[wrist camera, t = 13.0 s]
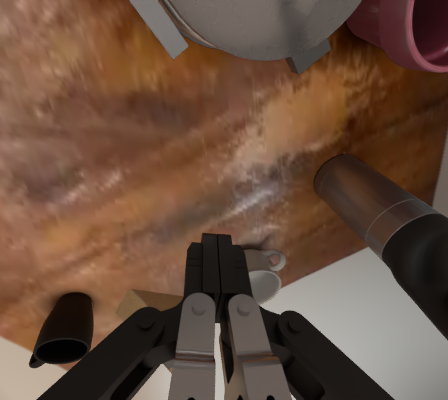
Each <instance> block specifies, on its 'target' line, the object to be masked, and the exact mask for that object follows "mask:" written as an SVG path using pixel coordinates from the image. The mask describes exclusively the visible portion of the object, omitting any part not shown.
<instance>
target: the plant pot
mask: <svg viewBox="0 0 448 400" xmlns="http://www.w3.org/2000/svg"><path fill="white" fill-rule="evenodd" d="M346 23H347V25H348V28H349V29H350V31H351V32H352V33H353V34H354V35H355V36H357V37H359V38H361V39H364V40H366V41H368V42H369V43H371V44H373V45H375V46H377V47H379V48H381V49H383V50H384V51H385V53H386V55H387V56H388V57H389V58H390V59H391V60H392V61H393V62H394V63H395V64H397V65H399V66H401V67H404V68H408V69H413V70H420V71H428V72H448V0H362V1H361V3H360V4H359V5H358V7H357V8H356V9H355V11H354V12H353V13H352V14H351V15H350V16H349V17H348V18H347V20H346Z"/></svg>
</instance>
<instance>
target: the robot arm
mask: <svg viewBox="0 0 448 400" xmlns="http://www.w3.org/2000/svg"><path fill="white" fill-rule="evenodd" d="M314 188H315V191H316V193H317V194H318V195H319V196H320V197H321V198H322V199H323V200H324V201H325V202H326V203H327V204H328V205H329V207H330V208H331V209H332V210H333V211H334V212H335V213H336V214H337V215H338V216H339V217H340V218H341V219H342V220H343V221H344V222H345V223H346V224H347V225H348V226H349V227H350V228H351V229H352V230H353V231H354V232H355V233H356V234H357V235H358V236H359V237H360V238H361V239H362V240H363V241H364V242H365V243H366V245H367V246H368V247H370V248H371V249H372V251H373V252H374V253H375V254H376V255H377V256H378V257H379V258H380V259H381V260H382V261H383V262H384V263H385V264H386V265H387V266H388V267H389V268H390V270H391V271H392V274H393V276H394V278H395V279H396V281H397V282H398V284H399V285H400V286H401V287H402V288H403V290H404V291H405V292H406V293H407V294H408V295H409V296H410V297H411V298H412V300H413V301H414V302H415V303H416V304H417V305H418V307H419V308H420V309H421V310H422V311H423V312H424V314H425V315H426V316H427V317H428V318H429V319H430V320H431V322H432V323H433V324H434V325H435V326H436V328H437V329H438V330H439V331H440V332H441V333H442V334H443V336H444V337H445V338H446V339H447V340H448V218H447V217H445V216H443V215H442V214H441V213H439V212H438V211H436V210H435V209H433V208H432V207H430V206H429V205H427V204H426V203H424V202H422V201H421V200H419V199H418V198H416V197H415V196H413V195H412V194H410V193H409V192H407V191H406V190H404V189H403V188H402V187H400V186H399V185H397V184H396V183H394V182H393V181H391V180H390V179H388V178H387V177H385V176H384V175H382V174H381V173H379V172H377V171H376V170H374V169H373V168H371V167H370V166H368V165H367V164H365V163H364V162H362V161H360V160H359V159H357V158H356V157H354V156H352V155H346V154H344V155H339V156H337V157H334V158H332V159H331V160H329V161H328V162H327V163H325V164H324V165H323V166H322V168H321V169H320V170H319V172H318V173H317V175H316V178H315V181H314ZM215 323H220V328H221V333H220V336H219V344H220V352H221V358H222V359H221V360H222V368H223V375H224V384H225V396H224V400H292V398H291V394H292V395H293V396H294V397H295V398H296V400H394V399H393V398H392V397H391V396H390V395H389V394H388V393H387V392H386V391H385V390H384V389H382V388H381V387H380V386H379V385H378V384H377V383H376V382H375V381H374V380H373V379H371V378H370V377H369V376H368V375H367V374H366V373H365V372H364V371H363V370H362V369H360V368H359V367H358V366H357V365H356V364H355V363H354V362H353V361H352V360H350V359H349V358H348V357H347V356H346V355H345V354H344V353H343V352H342V351H341V350H340V349H338V348H337V347H336V346H335V345H334V344H333V343H332V342H331V341H330V340H329V339H328V338H326V337H325V336H324V335H323V334H322V333H321V332H320V331H319V330H318V329H316V328H315V327H314V326H313V325H312V324H311V323H310V322H309V321H308V320H307V319H305V318H304V317H303V316H302V315H301V314H299V313H297V312H295V311H285V312H283V313H282V314H281V315H279V314H276V313H273V312H270V311H268V310H265V309H264V308H262V307H261V306H259V305H258V303H257V302H256V301H255V299H254V297H253V294H252V289H251V283H250V278H249V272H248V267H247V263H246V256H245V252H244V251H243V249H242V248H241V246H240V245H232V239H231V235H226V234H217V235H216V234H210V233H202V239H201V243H194V242H192V243H191V245H190V246H189V248H188V250H187V259H186V269H185V284H184V297H183V299H182V300H181V302H180V303H179V304H178V305H176V306H175V307H173V308H170V309H167V310H164V311H160V310H158V309H157V308H154V307H143V308H140V309H138V310H136V311H135V312H134V313H133V314H132V315H131V316H129V317H128V318H127V319H126V320H125V321H124V322H123V323H122V324H120V325H119V326H118V327H117V328H116V329H115V330H114V331H113V332H112V333H110V334H109V335H108V336H107V337H106V338H105V339H104V340H103V341H101V342H100V343H99V344H98V345H97V346H96V347H95V348H94V349H93V350H91V351H90V352H89V353H88V354H87V355H86V356H85V357H84V358H82V359H81V360H80V361H79V362H78V363H77V364H76V365H75V366H73V367H72V368H71V369H70V370H69V371H68V372H67V373H66V374H65V375H63V376H62V377H61V378H60V379H59V380H58V381H57V382H56V383H55V384H54V385H52V386H51V387H50V388H49V389H48V390H47V391H46V392H44V393H43V394H42V395H41V396H40V397H39V398H38V399H37V400H131V399H132V398H133V397H134V395H135V394H136V393H137V392H138V391H139V390H140V388H141V387H142V386H143V385H144V384H145V382H146V381H147V380H148V379H149V378H150V376H151V375H152V374H153V373H154V372H155V371H156V369H157V368H158V367H159V366H160V364H163V363H165V362H168V361H170V360H173V359H174V364H173V370H172V377H171V383H170V390H169V397H168V400H215V359H214V337H215ZM290 393H291V394H290Z"/></svg>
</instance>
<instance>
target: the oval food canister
mask: <svg viewBox="0 0 448 400" xmlns="http://www.w3.org/2000/svg"><path fill="white" fill-rule="evenodd" d="M129 1H130V2H131V3H132V5H133V6H134V7H135V9H136V10H137V12H138V13H139V14H140V16H141V17H142V18H143V20H144V21H145V22H146V24H147V25H148V26H149V28H150V29H151V30H152V32H153V33H154V34H155V36H156V37H157V38H158V40H159V41H160V42H161V44H162V45H163V47H164V48H165V49H166V51H167V52H168V53H169V55H170V56H171V57H172V59H173V60H174V59H175V58H176V57H177V56H178V55H179V54H180V53H181V52H183V51H184V50H185V49H186V48H187V47H188V44H187V43H186V41H185V40H184V38H183V37H182V35H183V36H185V37H187V38H188V39H190V40H192V41H193V42H196V43H198V44H200V45H203V46H206V47H209V48H213V49H218V48H216V47H215V46H213V45H211V44H210V43H208V42H207V41H205V40H203V39H202V38H201V37H200V36H199V35H197V34H196V33H195V32H194V31H193V30H191V29H190V27H189V26H188V25H187V24H186V23H185V22H184V21H183V20H182V19H181V18H180V17H179V15H178V14H177V13H176V11H175V10H174V9H173V7H172V6H171V5H170V3H169V2H168V0H129ZM179 32H180V33H181V34H182V35H181V34H180V33H179ZM220 50H221V49H220ZM329 50H331V47H330V44H329V41H328V38H326V39H324V40H323V41H322V42H320V43H319V44H317V45H316V46H314V47H312V48H310V49H308V50H307V51H305V52H302V53H300V54H297V55H295V56H292V57H288V58H286V61H287V63H288V65H289V67H290V69H291V72H293V73H296V74H300V73H302V72H303V71H304V70H305V69H307V68H308V67H309V66H310V65H312V64H313V63H314V62H316V61H317V60H318V59H319V58H321V57H322V56H323V55H324V54H326V53H327V52H328V51H329Z"/></svg>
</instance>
